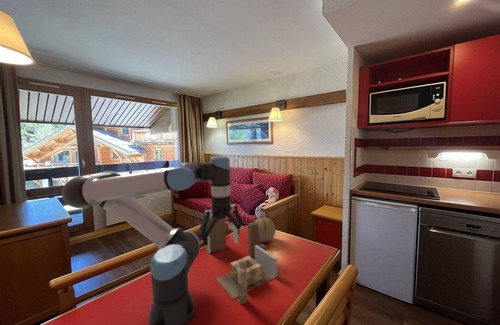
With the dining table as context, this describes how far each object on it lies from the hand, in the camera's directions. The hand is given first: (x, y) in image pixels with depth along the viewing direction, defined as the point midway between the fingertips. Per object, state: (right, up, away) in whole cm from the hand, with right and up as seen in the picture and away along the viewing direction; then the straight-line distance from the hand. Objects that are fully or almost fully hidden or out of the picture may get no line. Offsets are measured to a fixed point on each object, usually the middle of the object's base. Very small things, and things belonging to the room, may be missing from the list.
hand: (222, 247), depth 84 cm
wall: (+19, -17, +14) cm, 29 cm away
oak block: (+10, -17, +8) cm, 21 cm away
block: (-9, -15, +36) cm, 40 cm away
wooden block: (+15, -16, +27) cm, 35 cm away
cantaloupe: (+20, -14, +44) cm, 50 cm away
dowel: (+9, -19, -5) cm, 21 cm away
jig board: (+10, -17, +9) cm, 22 cm away
